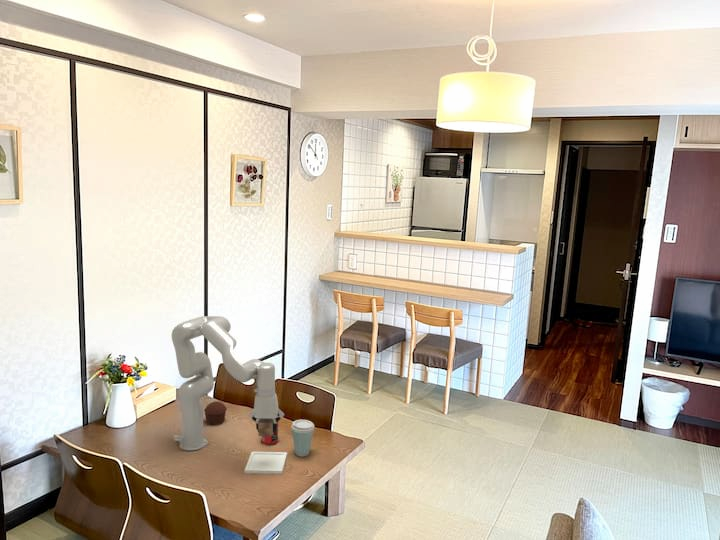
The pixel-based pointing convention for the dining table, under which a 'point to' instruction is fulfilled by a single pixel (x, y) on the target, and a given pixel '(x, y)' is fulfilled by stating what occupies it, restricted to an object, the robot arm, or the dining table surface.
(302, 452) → the disposable coffee cup
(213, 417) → the muffin
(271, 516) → the dining table surface
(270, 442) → the canned food
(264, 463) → the plate
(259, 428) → the cube
